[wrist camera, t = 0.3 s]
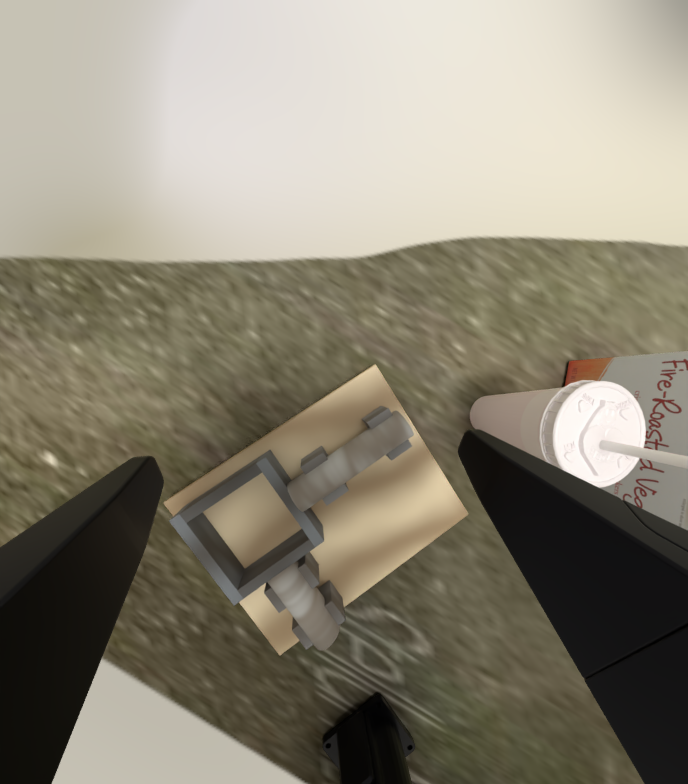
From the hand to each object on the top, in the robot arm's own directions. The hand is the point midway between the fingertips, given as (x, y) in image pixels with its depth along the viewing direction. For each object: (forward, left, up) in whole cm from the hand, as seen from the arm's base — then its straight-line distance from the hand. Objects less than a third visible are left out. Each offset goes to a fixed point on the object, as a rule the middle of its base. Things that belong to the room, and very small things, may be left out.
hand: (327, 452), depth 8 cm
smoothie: (-10, -13, -15) cm, 22 cm away
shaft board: (-8, +4, -15) cm, 17 cm away
